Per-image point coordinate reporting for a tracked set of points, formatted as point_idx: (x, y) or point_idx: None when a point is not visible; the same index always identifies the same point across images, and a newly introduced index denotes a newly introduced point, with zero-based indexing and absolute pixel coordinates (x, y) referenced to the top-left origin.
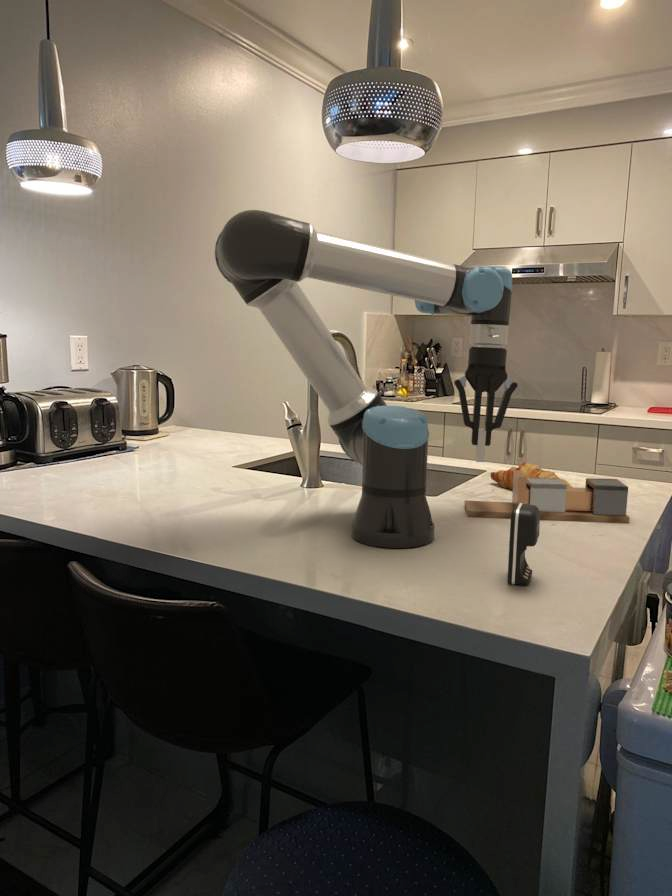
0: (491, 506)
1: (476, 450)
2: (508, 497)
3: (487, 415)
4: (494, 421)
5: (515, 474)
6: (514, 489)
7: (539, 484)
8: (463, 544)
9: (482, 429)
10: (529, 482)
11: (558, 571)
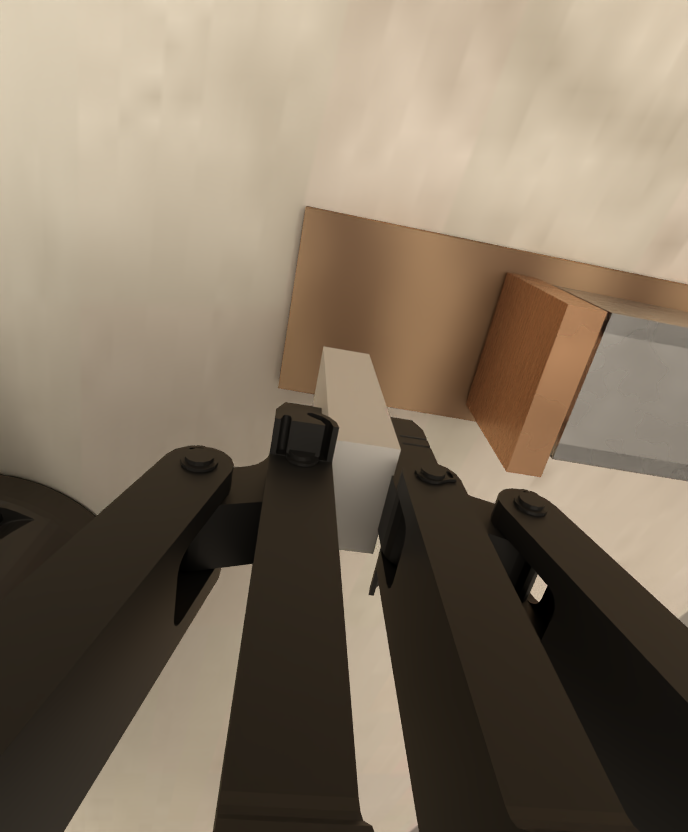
0: (394, 321)
1: (318, 401)
2: (594, 12)
3: (398, 667)
4: (514, 514)
5: (540, 365)
6: (513, 337)
7: (587, 464)
8: (208, 629)
9: (373, 459)
10: (568, 416)
11: (368, 758)
